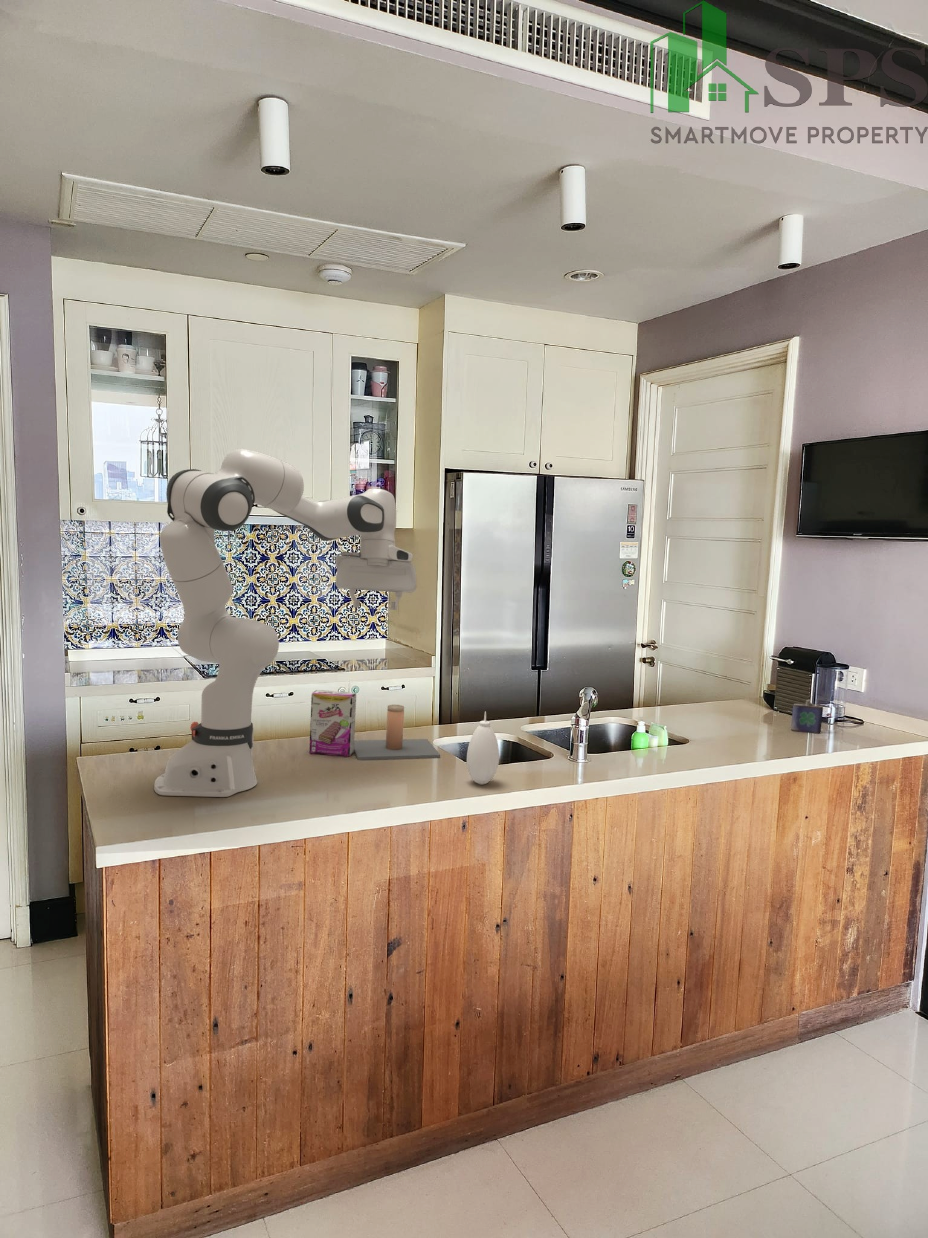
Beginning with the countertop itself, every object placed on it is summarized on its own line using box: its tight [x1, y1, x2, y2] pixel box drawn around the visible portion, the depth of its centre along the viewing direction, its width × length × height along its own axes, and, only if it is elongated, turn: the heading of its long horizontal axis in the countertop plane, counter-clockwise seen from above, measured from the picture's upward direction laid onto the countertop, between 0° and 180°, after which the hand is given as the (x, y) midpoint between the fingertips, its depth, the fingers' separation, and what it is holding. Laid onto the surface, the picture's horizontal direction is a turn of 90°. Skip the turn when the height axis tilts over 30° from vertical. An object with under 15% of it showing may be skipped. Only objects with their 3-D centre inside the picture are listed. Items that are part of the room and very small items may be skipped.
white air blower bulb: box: [466, 711, 500, 785], centre depth 202 cm, size 8×8×18 cm
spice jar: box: [385, 704, 405, 750], centre depth 226 cm, size 4×4×11 cm
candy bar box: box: [308, 689, 357, 757], centre depth 221 cm, size 11×5×16 cm, turn 84°
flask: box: [790, 699, 824, 735], centre depth 273 cm, size 9×3×11 cm, turn 76°
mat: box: [353, 738, 441, 761], centre depth 227 cm, size 22×16×1 cm
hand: (375, 608), depth 209 cm, fingers open, 8 cm apart
